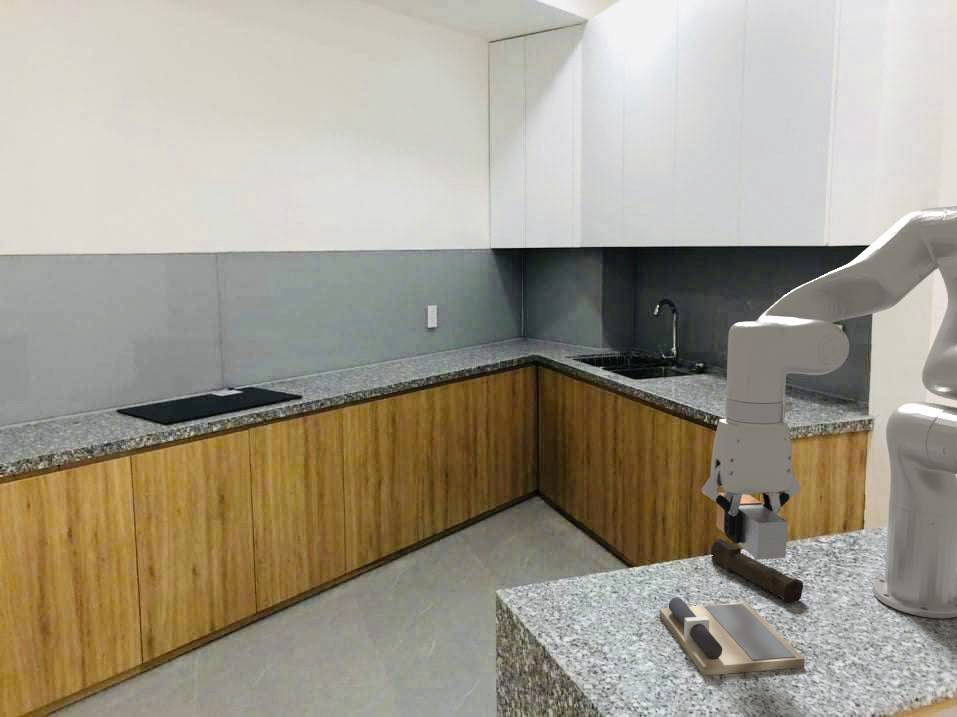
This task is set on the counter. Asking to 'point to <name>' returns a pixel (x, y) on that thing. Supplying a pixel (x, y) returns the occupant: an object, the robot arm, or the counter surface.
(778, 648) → the board
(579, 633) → the counter surface
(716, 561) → the hand tool
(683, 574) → the counter surface
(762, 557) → the grey and copper block
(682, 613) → the rod
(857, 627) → the counter surface
